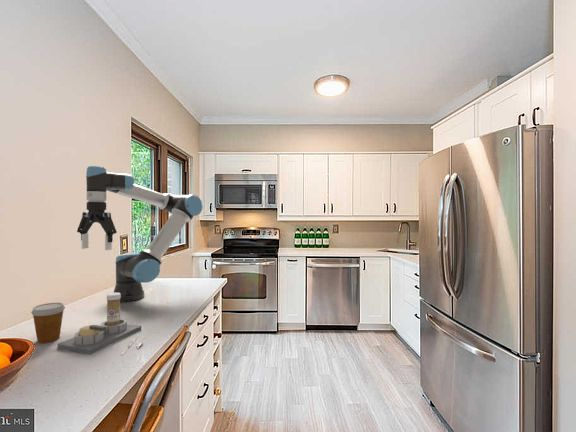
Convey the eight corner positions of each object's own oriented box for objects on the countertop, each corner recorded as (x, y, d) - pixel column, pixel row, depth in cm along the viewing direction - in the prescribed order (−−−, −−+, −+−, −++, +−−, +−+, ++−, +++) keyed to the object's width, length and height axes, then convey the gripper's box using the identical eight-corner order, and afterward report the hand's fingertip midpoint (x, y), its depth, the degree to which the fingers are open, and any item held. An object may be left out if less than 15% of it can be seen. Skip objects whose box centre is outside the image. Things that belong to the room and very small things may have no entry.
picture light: (135, 339, 113) (135, 333, 113) (147, 339, 114) (148, 333, 114) (118, 357, 100) (119, 351, 99) (133, 357, 100) (133, 350, 100)
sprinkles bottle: (106, 332, 115) (106, 295, 115) (107, 328, 119) (107, 292, 119) (120, 330, 117) (120, 294, 117) (121, 326, 121) (121, 291, 121)
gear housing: (112, 325, 126) (112, 309, 126) (141, 329, 121) (141, 313, 121) (57, 348, 105) (57, 328, 105) (89, 354, 101) (89, 334, 100)
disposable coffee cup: (46, 333, 117) (46, 301, 116) (71, 334, 116) (71, 302, 116) (24, 344, 107) (23, 310, 107) (51, 345, 107) (51, 310, 107)
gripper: (67, 201, 140) (67, 248, 140) (111, 201, 132) (111, 251, 132) (83, 201, 147) (83, 246, 147) (125, 201, 139) (125, 249, 139)
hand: (96, 249), depth 140 cm, fingers open, 13 cm apart
